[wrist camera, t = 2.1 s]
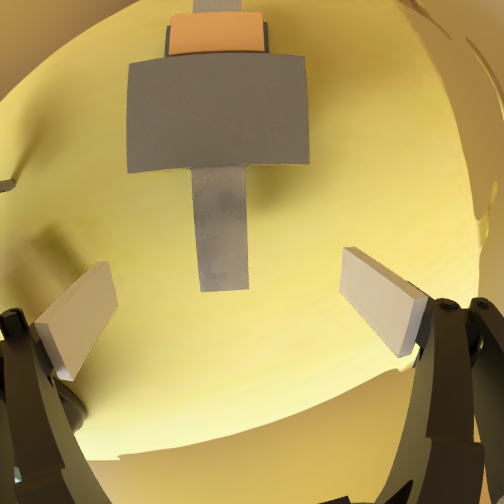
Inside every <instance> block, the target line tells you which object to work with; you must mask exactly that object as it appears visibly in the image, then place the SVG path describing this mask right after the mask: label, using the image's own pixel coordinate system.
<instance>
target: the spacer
mask: <svg viewBox="0 0 504 504" xmlns="http://www.w3.org/2000/svg"><path fill="white" fill-rule="evenodd" d="M211 53H264V34H263V15H262V12H205V13H192V14H182V15H174V16H172V19H171V30H170V42H169V57H175V56H185V55H196V54H211Z"/></svg>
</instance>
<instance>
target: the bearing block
mask: <svg viewBox="0 0 504 504" xmlns="http://www.w3.org/2000/svg"><path fill="white" fill-rule="evenodd" d="M302 164H309V126H308V103H307V86H306V72H305V59H304V57H302V56H293V55H282V54H266V53H211V54H196V55H185V56H175V57H167V58H160V59H154V60H148V61H142V62H137V63H132V64H129V74H128V89H127V168H128V174H133V173H149V172H167V171H178V170H190V169H191V168H195V167H210V166H230V165H245V167H246V166H281V165H302Z"/></svg>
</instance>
